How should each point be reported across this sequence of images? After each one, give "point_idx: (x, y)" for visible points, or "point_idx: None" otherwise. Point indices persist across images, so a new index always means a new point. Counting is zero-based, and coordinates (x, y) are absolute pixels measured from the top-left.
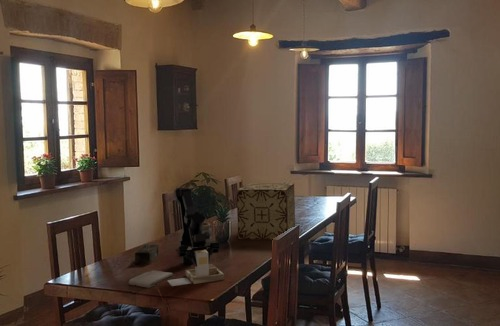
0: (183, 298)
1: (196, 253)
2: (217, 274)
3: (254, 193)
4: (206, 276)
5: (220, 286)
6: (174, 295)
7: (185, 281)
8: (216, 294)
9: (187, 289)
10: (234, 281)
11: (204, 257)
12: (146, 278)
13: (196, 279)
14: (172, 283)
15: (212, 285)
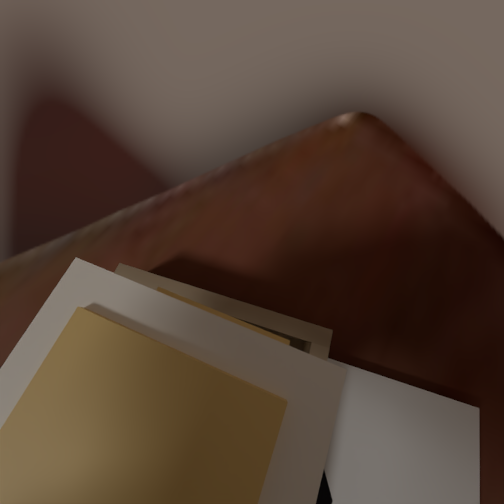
0: (457, 192)
1: (323, 447)
2: (152, 287)
3: None
4: (235, 303)
5: (220, 214)
6: (491, 257)
7: (347, 432)
8: (301, 145)
9: (388, 293)
10: (119, 229)
11: (194, 302)
12: None
13: (310, 324)
14: (456, 471)
15: (240, 254)
